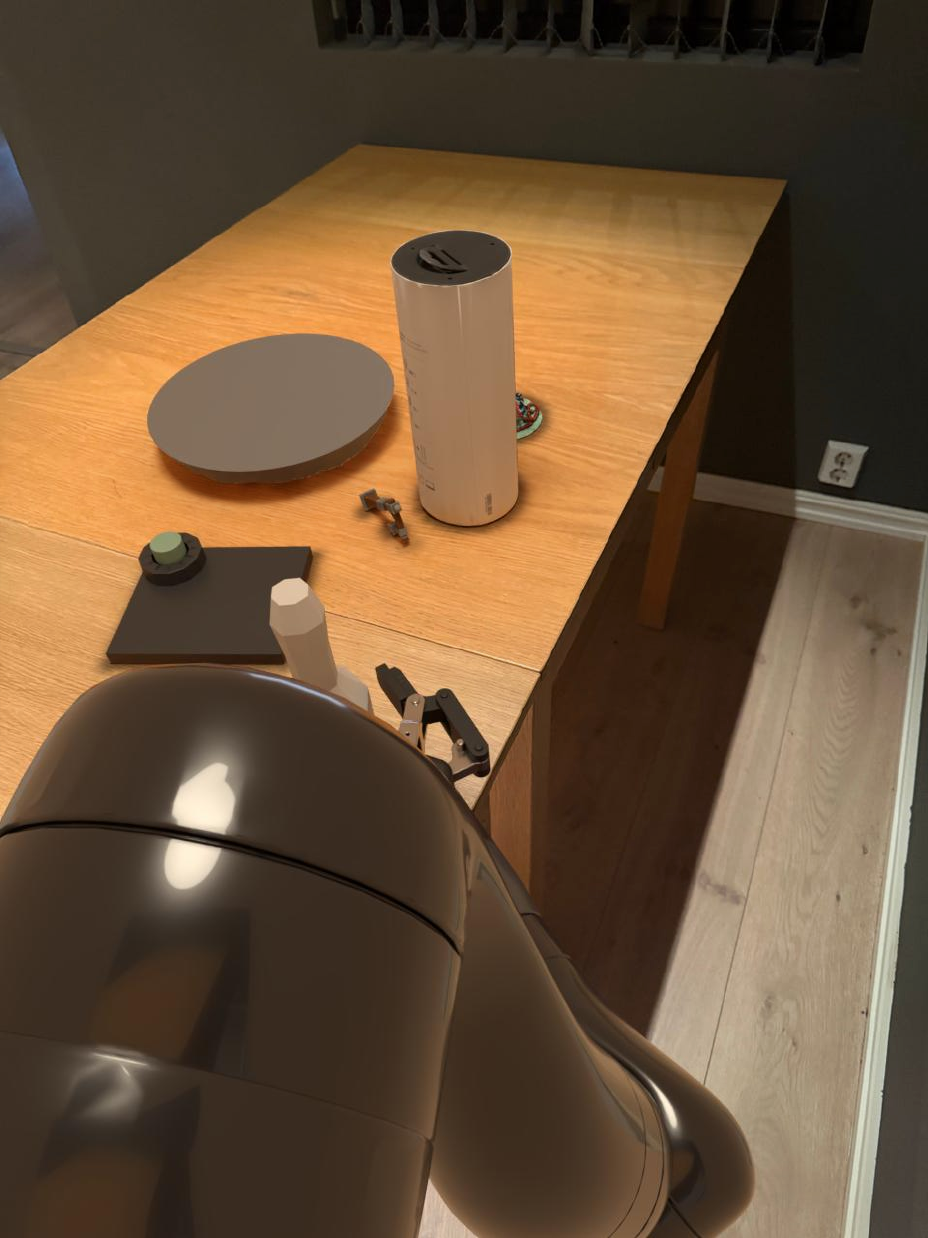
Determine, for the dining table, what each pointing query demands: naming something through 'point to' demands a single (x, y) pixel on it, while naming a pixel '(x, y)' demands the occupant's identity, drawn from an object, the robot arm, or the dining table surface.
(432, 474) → the speaker
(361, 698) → the low poly bottle
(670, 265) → the dining table surface
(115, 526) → the dining table surface
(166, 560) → the button
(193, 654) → the scale
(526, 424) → the painted miniature figurine
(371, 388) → the flat disc
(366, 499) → the jointed metal bracket
